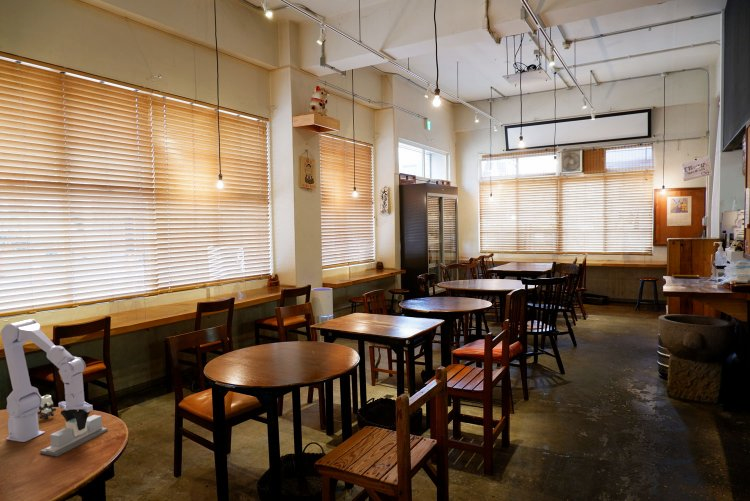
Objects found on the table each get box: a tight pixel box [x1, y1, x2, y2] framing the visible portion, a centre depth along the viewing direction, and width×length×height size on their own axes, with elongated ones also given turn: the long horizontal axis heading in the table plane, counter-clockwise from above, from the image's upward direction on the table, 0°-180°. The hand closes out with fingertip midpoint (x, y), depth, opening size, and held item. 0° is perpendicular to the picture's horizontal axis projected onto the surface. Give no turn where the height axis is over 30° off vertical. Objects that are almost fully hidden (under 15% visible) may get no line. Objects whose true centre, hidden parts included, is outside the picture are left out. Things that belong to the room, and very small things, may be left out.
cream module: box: [65, 418, 87, 437], centre depth 170 cm, size 4×5×5 cm
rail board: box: [39, 414, 108, 457], centre depth 169 cm, size 8×20×6 cm, turn 161°
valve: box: [37, 394, 57, 420], centre depth 195 cm, size 7×7×12 cm
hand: (77, 428), depth 170 cm, fingers closed on cream module, 4 cm apart
